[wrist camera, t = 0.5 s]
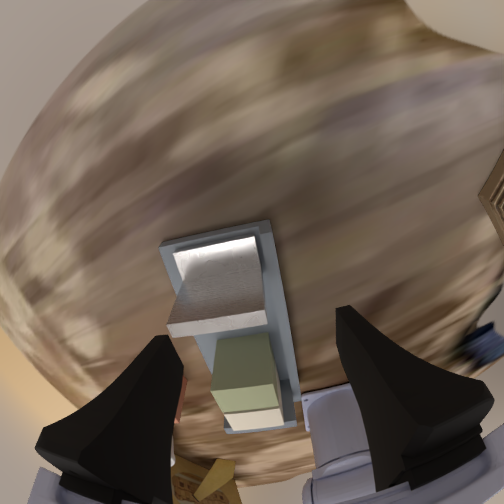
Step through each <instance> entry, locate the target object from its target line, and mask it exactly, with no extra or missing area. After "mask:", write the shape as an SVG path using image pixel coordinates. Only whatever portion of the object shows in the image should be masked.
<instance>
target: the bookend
mask: <svg viewBox="0 0 504 504" xmlns="http://www.w3.org/2000/svg"><path fill="white" fill-rule="evenodd" d="M173 255H174V258H175V261H176V264H177V266H178V269H179V272H180V275H181V277H182V280H183V282H182V285H181V287H180V290H179V292H178V295H177V298H176V300H175V303H174V305H173V308H172V311H171V314H170V316H169V319H168V322H167V324H166V325H167V327H168V329H169V331H170V333H171V335H172V337H173V338H174V337H183V336H192V335H200V334H207V333H214V332H222V331H228V330H235V329H241V328H248V327H254V326H259V325H265V324H268V321H267V310H266V300H265V290H264V279H263V272H262V268H261V263H260V259H259V254H258V250H257V245H256V241H255V236H254V234H249V235H244V236H239V237H234V238H229V239H224V240H220V241H215V242H210V243H205V244H200V245H196V246H191V247H186V248H182V249H177V250H175V251H174V253H173Z"/></svg>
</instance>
